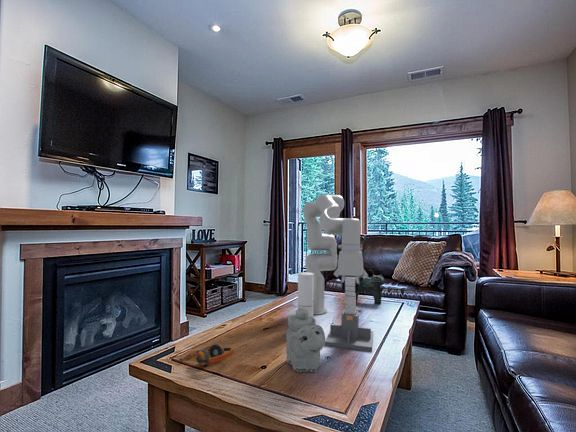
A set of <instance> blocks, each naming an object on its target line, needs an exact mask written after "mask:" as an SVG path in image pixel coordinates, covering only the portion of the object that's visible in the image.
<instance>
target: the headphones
mask: <svg viewBox="0 0 576 432" xmlns="http://www.w3.org/2000/svg"><path fill="white" fill-rule="evenodd" d="M224 352H225V353H224ZM234 353H235V349H234V347H223V346H222V345H221V344H218V343H215V344H211V347H210V346H209V348H205V349H204V348H203V349H201V350H199V352H197V353H196V358H195V359H196V362H197V363H198V365H199V366H200V365H202V366H204V365H207V366H209V364H211V363H216V362H219V361H223V360H225V359H227V358H229V357H231V356H232V355H233V354H234ZM193 357H194V356H193V355H192V357H191V358H193ZM187 359H190V357H188V358H187ZM181 361H182V362H183V361H184V359H181V360H179V361H177V362H176V364H179V363H178V362H180V363H182V362H181Z"/></svg>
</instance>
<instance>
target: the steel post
mask: <svg viewBox="0 0 576 432" xmlns="http://www.w3.org/2000/svg"><path fill="white" fill-rule="evenodd" d="M355 283H356V277H355V276H346V277H345V292H344V311H345V314H346V315H356V312H357V310H356V309H357V307H356V306H357V305H356V303H357V301H356V293H355Z"/></svg>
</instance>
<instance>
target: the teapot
mask: <svg viewBox="0 0 576 432" xmlns="http://www.w3.org/2000/svg"><path fill="white" fill-rule="evenodd" d="M308 315H309V314H308V311H307V310H306V309H303V308H302V309H301V307H298V306H297V310H296V312H295V313H294V314H289V316H288V317H287V324H288V327H287V329H286V333H285V334H286V335H285V338H286V340H285V341H286V347H285V348H286V349H285V351H286V352H285V353H286V362H287V364H289V365H291V366H292V369H293V371H295V372H298V373H316V372H318V371H319V369H320V360H321V351H322V350H323V348H324V346H325V340H326V336H325V332H324V328H323V327H322V326H321V325H318V324H316V323H317V322H316V318H314V316H313V317H311V316H308Z"/></svg>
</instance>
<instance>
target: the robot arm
mask: <svg viewBox="0 0 576 432" xmlns="http://www.w3.org/2000/svg"><path fill="white" fill-rule="evenodd" d="M344 207H345V199H344V198H343V196H342V195H340V194H326V193H324V194H321V195H319V196H317V197H316V199H315V201H308V202H305V204H304V205H303V209H302V213H303V219H304V222H305V224H306V236H307V237H306V240H307V247H308V249H309V251H313V252H317V253H309V254H307V256H306V257H305V269H306V272H309V273H313V274H314V286H313V315H324V314H326V313H327V312H328V309H327V308H326V307H325V277H324V275H323V274H322V273H321V272H323V271H334V272H333V275H334V276H335V277H336V278H338V279H339V280H340V282H341V291H342V290H343V293H345V278H346V277H355V278H356V283H355V293H357V291H359V283H360V282H361V281H362V280H363V279H365V278H366V277H369V274H368V273H367V272H366V270H365V268H364V258H363V252H362V251H361V221H360V219H359V218H348V217H347V218H346V217H345V218H343V217H339V216H340V214H341V212H342V211H343V209H344ZM318 218H319V219H318ZM323 232H324V233H323ZM335 236H341V244H338V245H337V240H336V237H335ZM337 249H340V251H339V253H337V252H338V250H337ZM321 251H322V252H324V253H321ZM359 277H360V278H359Z"/></svg>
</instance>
